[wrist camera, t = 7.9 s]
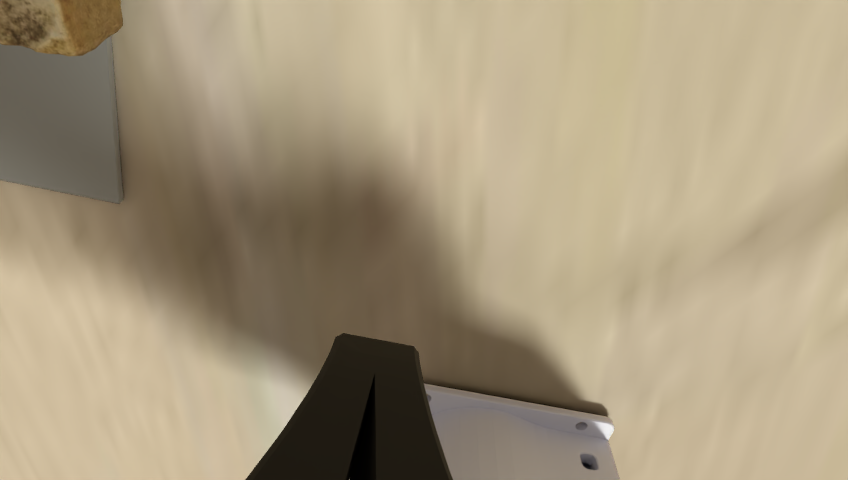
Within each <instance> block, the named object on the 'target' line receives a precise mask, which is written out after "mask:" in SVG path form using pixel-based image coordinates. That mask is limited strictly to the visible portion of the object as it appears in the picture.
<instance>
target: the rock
mask: <svg viewBox="0 0 848 480" xmlns="http://www.w3.org/2000/svg"><path fill="white" fill-rule="evenodd" d="M120 4H121V0H0V44H2V45H9V46H23V47H26V48H30V49H32V50H34V51H35V52H39V53H46V54H60V55H64V56H83V55H85V54H86V53H88V52H90V51H92V50H94V49H96V48H97V47H98V46H99V45H100V44H101V43H102V42H103V41H104V40H105V39H107V38H108V37H110V36H111V35H112V34H114V33H116V32H117V31H118V30H119V29H120V28H121V27H122V26H123V18H122V12H121V6H120Z"/></svg>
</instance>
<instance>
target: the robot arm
mask: <svg viewBox="0 0 848 480" xmlns="http://www.w3.org/2000/svg"><path fill="white" fill-rule="evenodd" d="M426 394H428V396H427V395H426ZM580 422H582V423H580ZM613 431H614V425H613V422H612V420H611V419H610V418H609V417H606V416H601V415H595V414H590V413H584V412H579V411H573V410H568V409H562V408H557V407H551V406H546V405H540V404H535V403H529V402H524V401H518V400H513V399H507V398H502V397H496V396H491V395H485V394H480V393H474V392H469V391H463V390H458V389H452V388H447V387H441V386H435V385H430V384H424V382H423V377H422V372H421V367H420V361H419V353H418V351H417V350H416V349H415V347H414V346H409V345H404V344H398V343H393V342H388V341H382V340H377V339H372V338H366V337H361V336H355V335H350V334H345V333H343V334H341V335H339V336H337V337H336V338H335V341H334V343H333V346H332V349H331V351H330V353H329V355H328V357H327V359H326V361H325V363H324V365H323V367H322V369H321V371H320V373H319V375H318V376H317V378H316V380H315V381H314V383H313V385H312V386H311V388H310V390H309V392H308V393H307V395H306V396H305V398H304V399H303V401H302V402H301V404H300V405H299V407H298V408H297V410H296V411H295V413H294V414H293V416H292V417H291V419H290V420H289V422H288V423H287V425H286V426H285V428H284V429H283V431H282V432H281V434H280V435H279V436H278V438H277V439H276V440H275V442H274V443H273V444H272V446H271V447H270V448H269V450H268V451H267V452H266V454H265V455H264V456H263V457H262V459H261V460H260V461H259V463H258V464H257V465H256V467H255V468H254V469H253V471H252V472H251V473H250V475H249V476H248V477H247V478H246V480H349V479H350V480H620V478H619V475H618V471H617V468H616V465H615V461H614V458H613V455H612V451H611V448H610V445H609V441H608V440H609V438H610V436H611V435H612V433H613Z"/></svg>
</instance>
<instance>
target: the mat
mask: <svg viewBox="0 0 848 480" xmlns="http://www.w3.org/2000/svg"><path fill="white" fill-rule="evenodd" d="M0 180H2V181H7V182H12V183H17V184H22V185H27V186H32V187H37V188H42V189H47V190H52V191H57V192H62V193H67V194H72V195H77V196H82V197H87V198H92V199H97V200H102V201H107V202H112V203H117V204H120V203H121V202H122V201H123V188H122V174H121V161H120V147H119V133H118V120H117V106H116V92H115V79H114V65H113V51H112V38H111V36H110V37H108V38H107V39H105V40H104V41H103V42H102V43H101V44H100V45H99V46H98V47H97V48H96V49H94V50H92V51H90V52H88V53H86V54H85V55H83V56H64V55H60V54H46V53H39V52H35V51H34V50H32V49H30V48H26V47H23V46H9V45H2V44H0Z"/></svg>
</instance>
